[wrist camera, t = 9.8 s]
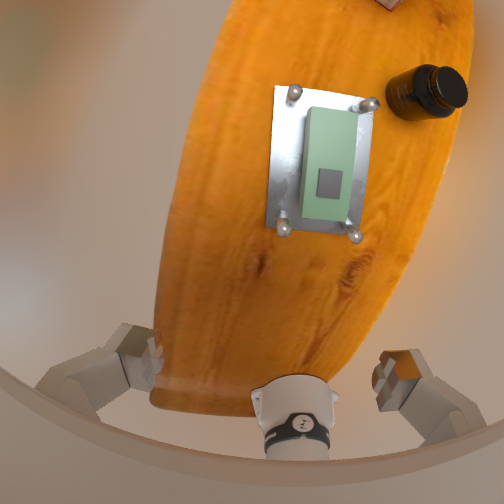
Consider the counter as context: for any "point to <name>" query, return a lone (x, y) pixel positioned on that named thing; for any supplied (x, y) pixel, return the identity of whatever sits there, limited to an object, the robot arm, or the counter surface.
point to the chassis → (291, 160)
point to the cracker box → (390, 3)
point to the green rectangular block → (328, 163)
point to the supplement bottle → (427, 92)
